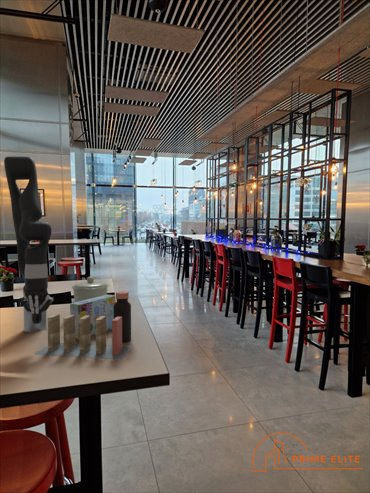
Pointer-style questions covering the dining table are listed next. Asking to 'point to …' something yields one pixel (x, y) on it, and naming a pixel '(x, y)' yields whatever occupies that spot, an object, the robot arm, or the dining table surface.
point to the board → (90, 353)
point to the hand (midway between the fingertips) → (37, 323)
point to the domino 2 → (69, 332)
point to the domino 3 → (85, 333)
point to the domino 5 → (116, 335)
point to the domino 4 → (100, 334)
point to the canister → (89, 289)
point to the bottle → (123, 314)
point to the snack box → (94, 311)
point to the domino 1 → (53, 332)
